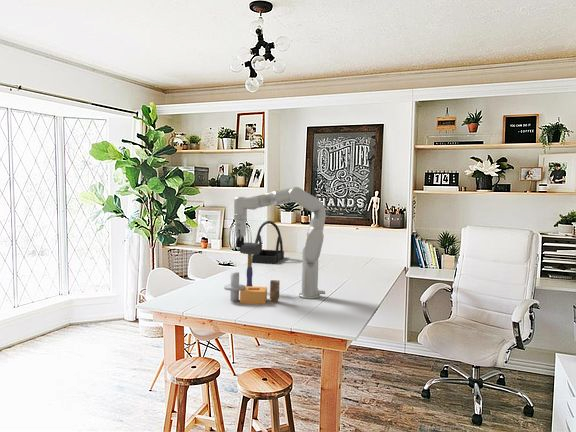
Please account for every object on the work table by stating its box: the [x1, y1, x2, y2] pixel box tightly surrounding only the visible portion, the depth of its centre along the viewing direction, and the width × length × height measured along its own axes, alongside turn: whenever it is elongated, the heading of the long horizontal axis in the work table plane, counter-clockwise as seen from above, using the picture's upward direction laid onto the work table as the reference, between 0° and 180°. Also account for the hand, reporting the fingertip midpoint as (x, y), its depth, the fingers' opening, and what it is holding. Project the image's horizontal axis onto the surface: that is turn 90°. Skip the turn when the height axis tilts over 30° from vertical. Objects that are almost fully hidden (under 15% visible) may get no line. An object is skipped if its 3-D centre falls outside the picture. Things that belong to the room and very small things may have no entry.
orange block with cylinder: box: [223, 271, 268, 305], centre depth 265 cm, size 24×12×16 cm, turn 88°
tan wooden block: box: [269, 279, 281, 304], centre depth 264 cm, size 5×4×12 cm
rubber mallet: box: [238, 242, 261, 287], centre depth 291 cm, size 12×8×30 cm, turn 68°
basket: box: [252, 220, 285, 265], centre depth 401 cm, size 35×21×35 cm, turn 168°
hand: (240, 246), depth 277 cm, fingers open, 9 cm apart
